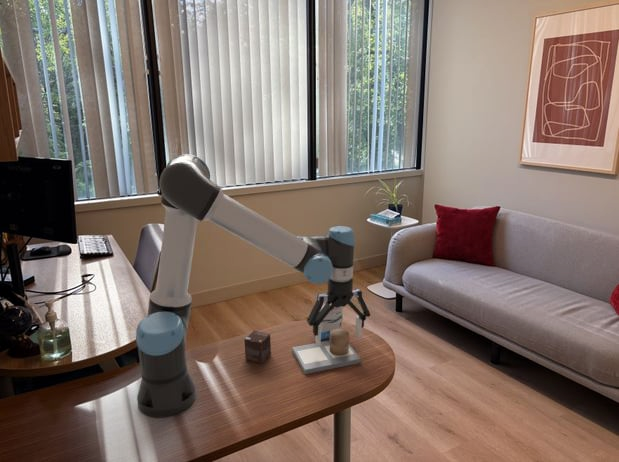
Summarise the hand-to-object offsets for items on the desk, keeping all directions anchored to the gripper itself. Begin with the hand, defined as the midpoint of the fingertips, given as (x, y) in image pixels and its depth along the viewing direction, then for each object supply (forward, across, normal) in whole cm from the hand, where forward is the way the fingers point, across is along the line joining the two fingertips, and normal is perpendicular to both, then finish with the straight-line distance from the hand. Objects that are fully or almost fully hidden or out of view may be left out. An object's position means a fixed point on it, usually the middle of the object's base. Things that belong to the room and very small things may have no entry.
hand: (338, 340), depth 145 cm
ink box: (+5, +2, +13) cm, 14 cm away
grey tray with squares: (+5, -4, 0) cm, 7 cm away
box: (+6, -24, +7) cm, 26 cm away
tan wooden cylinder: (+4, 0, 0) cm, 4 cm away
